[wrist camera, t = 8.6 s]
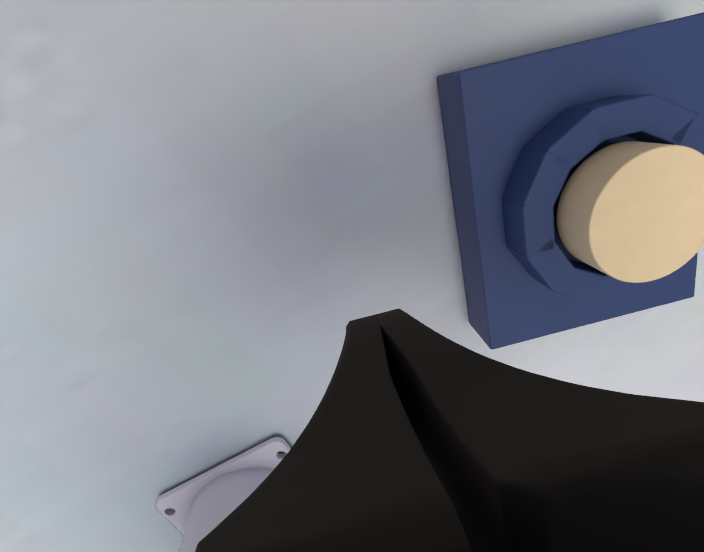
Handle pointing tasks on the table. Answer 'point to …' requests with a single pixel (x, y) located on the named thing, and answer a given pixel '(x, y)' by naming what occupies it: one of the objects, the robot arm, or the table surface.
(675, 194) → the disc
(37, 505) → the table surface
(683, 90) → the button base
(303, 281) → the table surface
